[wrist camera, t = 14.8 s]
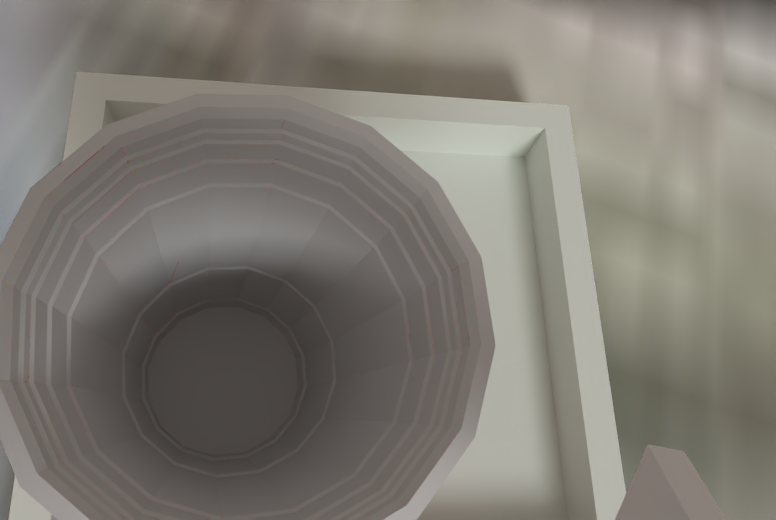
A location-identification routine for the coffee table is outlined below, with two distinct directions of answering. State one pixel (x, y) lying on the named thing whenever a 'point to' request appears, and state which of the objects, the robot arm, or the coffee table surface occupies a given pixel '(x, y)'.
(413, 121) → the tray
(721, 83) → the coffee table surface
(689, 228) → the coffee table surface
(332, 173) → the plastic cup
